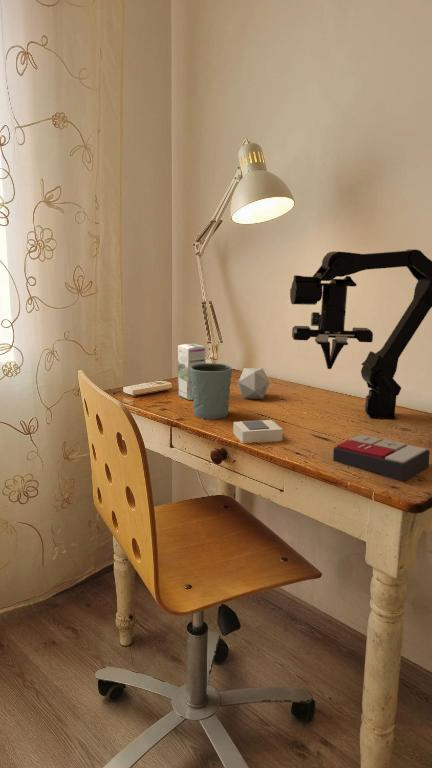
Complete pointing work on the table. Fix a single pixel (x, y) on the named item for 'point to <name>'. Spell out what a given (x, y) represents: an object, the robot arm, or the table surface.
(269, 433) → the white box grey panel
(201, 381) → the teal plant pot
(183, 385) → the syrup box
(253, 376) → the die
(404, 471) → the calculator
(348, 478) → the table surface
